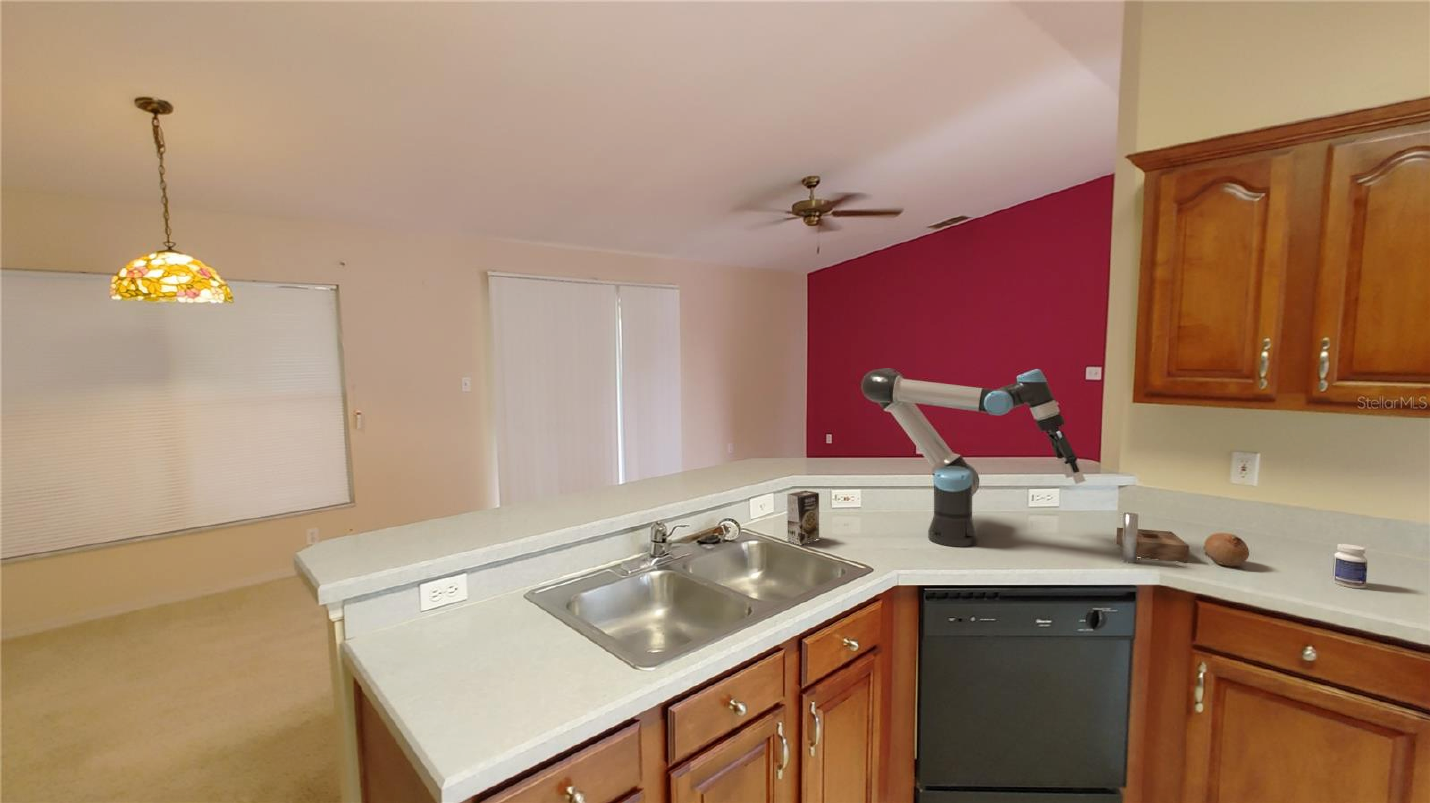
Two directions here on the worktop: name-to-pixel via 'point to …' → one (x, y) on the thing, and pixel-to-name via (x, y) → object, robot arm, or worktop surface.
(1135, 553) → the steel pin
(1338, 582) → the pill bottle
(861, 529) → the worktop surface
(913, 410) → the robot arm
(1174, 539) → the wooden block with hole
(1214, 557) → the kiwi fruit
